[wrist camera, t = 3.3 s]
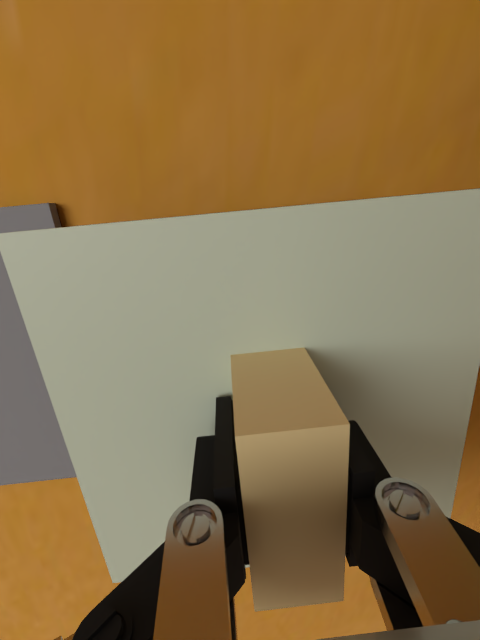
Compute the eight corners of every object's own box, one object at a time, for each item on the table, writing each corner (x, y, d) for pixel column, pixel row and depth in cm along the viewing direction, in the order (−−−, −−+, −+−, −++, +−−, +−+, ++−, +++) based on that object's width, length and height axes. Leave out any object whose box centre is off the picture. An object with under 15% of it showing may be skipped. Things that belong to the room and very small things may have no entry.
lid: (16, 231, 10) (-175, 252, 5) (486, 188, 10) (716, 169, 5) (119, 559, 15) (72, 721, 10) (431, 523, 15) (525, 664, 10)
